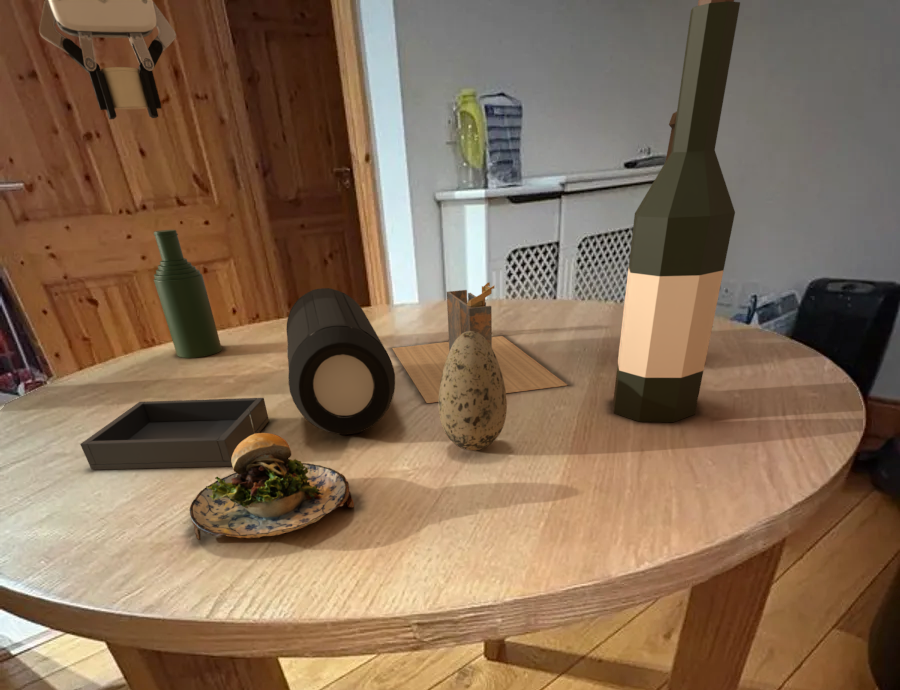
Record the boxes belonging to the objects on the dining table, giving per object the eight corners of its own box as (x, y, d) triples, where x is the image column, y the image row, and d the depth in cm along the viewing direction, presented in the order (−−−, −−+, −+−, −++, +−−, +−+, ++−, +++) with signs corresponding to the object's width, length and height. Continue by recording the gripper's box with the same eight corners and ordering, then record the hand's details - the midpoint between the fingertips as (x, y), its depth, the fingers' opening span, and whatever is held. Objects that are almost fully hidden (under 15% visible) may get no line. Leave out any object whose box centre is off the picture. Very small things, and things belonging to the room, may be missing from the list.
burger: (171, 560, 41) (131, 458, 37) (222, 484, 51) (195, 396, 46) (342, 552, 41) (323, 449, 36) (362, 477, 50) (348, 388, 46)
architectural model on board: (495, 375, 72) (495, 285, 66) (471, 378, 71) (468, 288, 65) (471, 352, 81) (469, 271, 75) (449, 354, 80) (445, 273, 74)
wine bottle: (682, 428, 56) (770, -32, 38) (597, 415, 59) (640, -8, 41) (705, 401, 61) (792, -12, 43) (626, 390, 65) (675, 7, 47)
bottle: (169, 358, 86) (130, 234, 77) (187, 347, 91) (152, 229, 82) (212, 357, 85) (177, 232, 76) (228, 345, 90) (197, 227, 81)
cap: (104, 108, 68) (92, 69, 66) (129, 109, 71) (119, 72, 69) (131, 106, 67) (120, 66, 65) (156, 107, 70) (146, 69, 68)
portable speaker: (295, 375, 76) (278, 288, 70) (372, 366, 77) (361, 280, 71) (301, 450, 56) (277, 337, 50) (404, 437, 57) (393, 325, 51)
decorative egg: (519, 450, 53) (522, 331, 47) (464, 467, 51) (459, 344, 45) (482, 430, 58) (480, 319, 52) (429, 446, 55) (420, 331, 49)
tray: (91, 469, 55) (79, 444, 53) (147, 424, 64) (139, 401, 62) (232, 466, 54) (224, 439, 52) (269, 421, 63) (263, 397, 61)
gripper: (-38, -146, 53) (54, 117, 64) (159, -125, 59) (212, 113, 70) (-28, -116, 59) (55, 122, 70) (151, -99, 64) (201, 118, 75)
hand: (133, 115), depth 70 cm, fingers closed on cap, 3 cm apart
